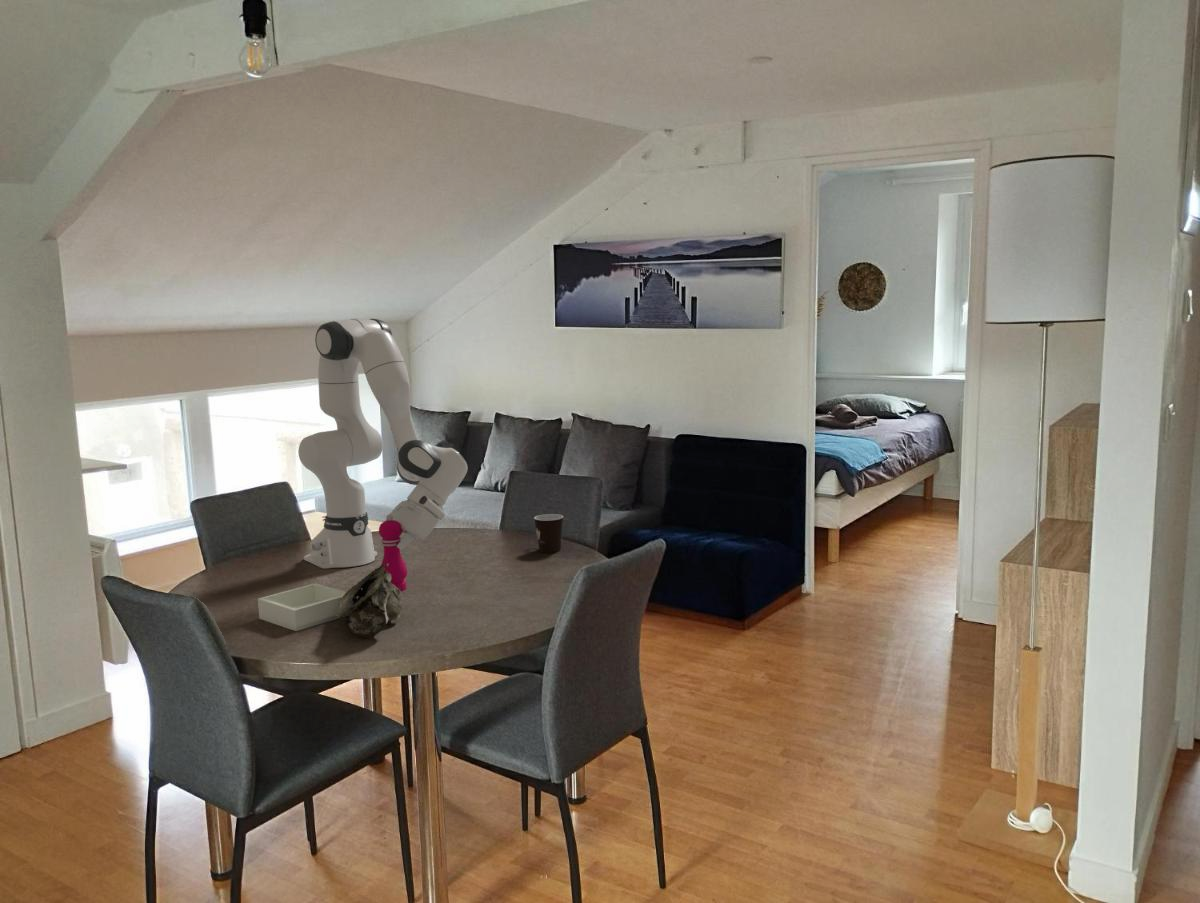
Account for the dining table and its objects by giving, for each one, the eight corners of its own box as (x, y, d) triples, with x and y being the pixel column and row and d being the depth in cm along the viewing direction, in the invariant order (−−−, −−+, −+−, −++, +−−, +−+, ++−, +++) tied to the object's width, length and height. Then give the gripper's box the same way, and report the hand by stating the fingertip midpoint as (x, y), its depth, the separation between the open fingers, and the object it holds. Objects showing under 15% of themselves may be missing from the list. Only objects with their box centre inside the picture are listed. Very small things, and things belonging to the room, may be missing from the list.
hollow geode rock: (366, 666, 220) (410, 617, 219) (320, 630, 218) (365, 580, 217) (387, 622, 248) (427, 578, 246) (347, 589, 246) (387, 545, 244)
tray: (259, 618, 242) (257, 598, 241) (316, 602, 253) (315, 583, 253) (296, 631, 231) (294, 610, 230) (354, 613, 243) (352, 593, 242)
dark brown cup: (563, 553, 294) (562, 520, 292) (534, 554, 294) (533, 520, 293) (565, 543, 306) (564, 511, 304) (537, 544, 306) (536, 512, 304)
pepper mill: (402, 593, 259) (397, 517, 256) (375, 592, 260) (370, 517, 257) (412, 585, 266) (407, 511, 263) (387, 584, 267) (382, 511, 264)
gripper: (400, 490, 272) (368, 531, 268) (431, 501, 255) (397, 545, 251) (417, 504, 275) (385, 544, 271) (448, 516, 258) (415, 559, 254)
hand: (391, 544), depth 261 cm, fingers open, 8 cm apart
